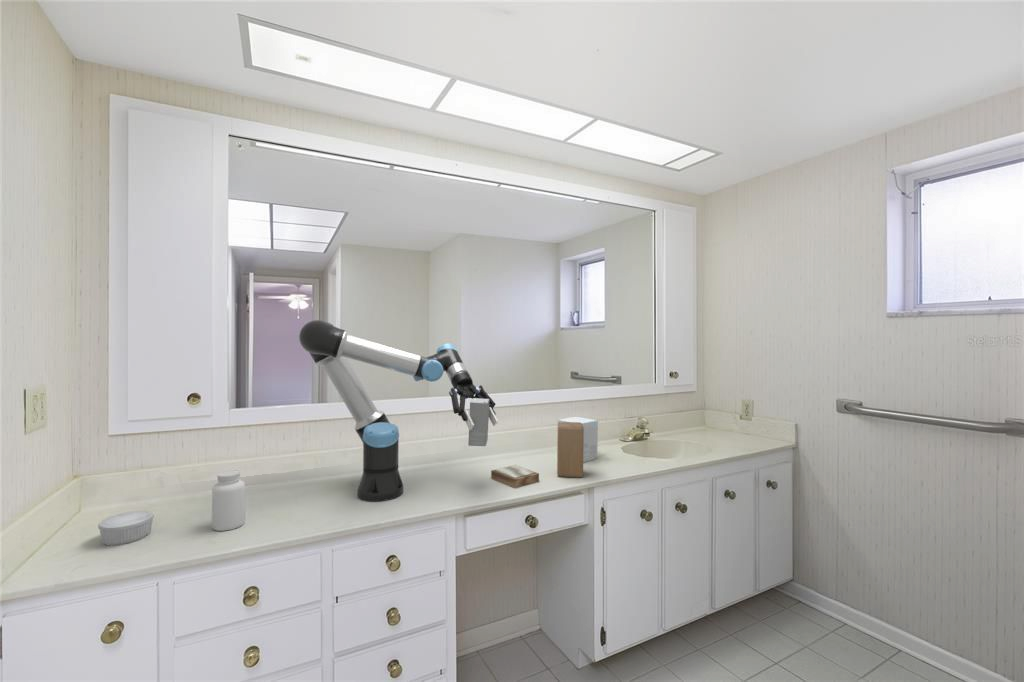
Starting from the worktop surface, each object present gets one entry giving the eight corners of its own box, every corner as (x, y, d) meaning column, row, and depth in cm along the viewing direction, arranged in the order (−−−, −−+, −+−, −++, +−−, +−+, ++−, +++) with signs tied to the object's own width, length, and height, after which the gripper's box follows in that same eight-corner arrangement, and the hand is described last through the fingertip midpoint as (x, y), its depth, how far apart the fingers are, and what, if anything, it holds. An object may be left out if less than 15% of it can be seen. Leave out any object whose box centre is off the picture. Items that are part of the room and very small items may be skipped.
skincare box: (470, 440, 162) (470, 397, 162) (490, 440, 162) (489, 397, 161) (467, 446, 153) (467, 401, 153) (488, 446, 153) (487, 401, 153)
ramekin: (132, 547, 112) (132, 526, 112) (85, 548, 111) (85, 527, 111) (164, 528, 123) (164, 509, 123) (121, 529, 122) (121, 510, 122)
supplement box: (575, 453, 208) (575, 416, 208) (598, 458, 199) (598, 420, 199) (556, 457, 199) (556, 419, 199) (579, 464, 190) (579, 423, 190)
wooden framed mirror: (514, 488, 158) (514, 478, 158) (491, 478, 169) (491, 469, 169) (538, 481, 166) (538, 472, 166) (515, 472, 177) (515, 464, 177)
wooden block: (581, 470, 180) (582, 422, 180) (583, 478, 170) (583, 426, 170) (557, 469, 181) (557, 421, 181) (557, 477, 171) (557, 426, 171)
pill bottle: (208, 533, 119) (209, 478, 119) (215, 522, 127) (215, 470, 127) (242, 529, 122) (243, 475, 122) (247, 518, 130) (247, 467, 130)
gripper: (479, 382, 176) (504, 427, 164) (430, 386, 162) (453, 436, 150) (487, 369, 172) (513, 415, 160) (437, 372, 158) (461, 423, 146)
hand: (484, 425), depth 155 cm, fingers closed on skincare box, 10 cm apart
